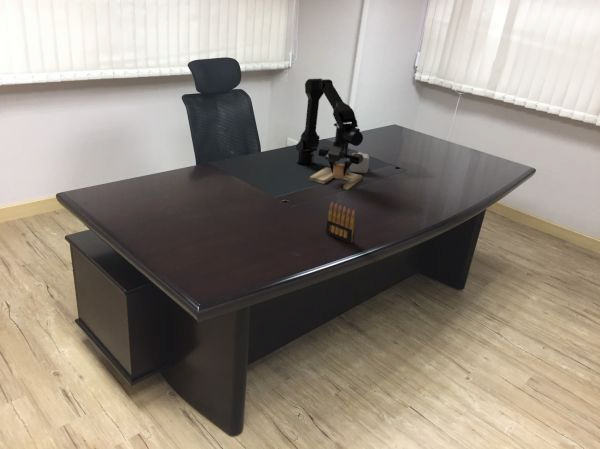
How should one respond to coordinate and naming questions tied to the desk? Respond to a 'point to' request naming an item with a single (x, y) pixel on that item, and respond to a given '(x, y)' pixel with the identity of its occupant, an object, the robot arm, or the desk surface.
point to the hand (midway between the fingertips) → (338, 174)
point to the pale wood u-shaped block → (327, 175)
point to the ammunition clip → (341, 223)
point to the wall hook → (361, 164)
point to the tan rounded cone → (338, 171)
